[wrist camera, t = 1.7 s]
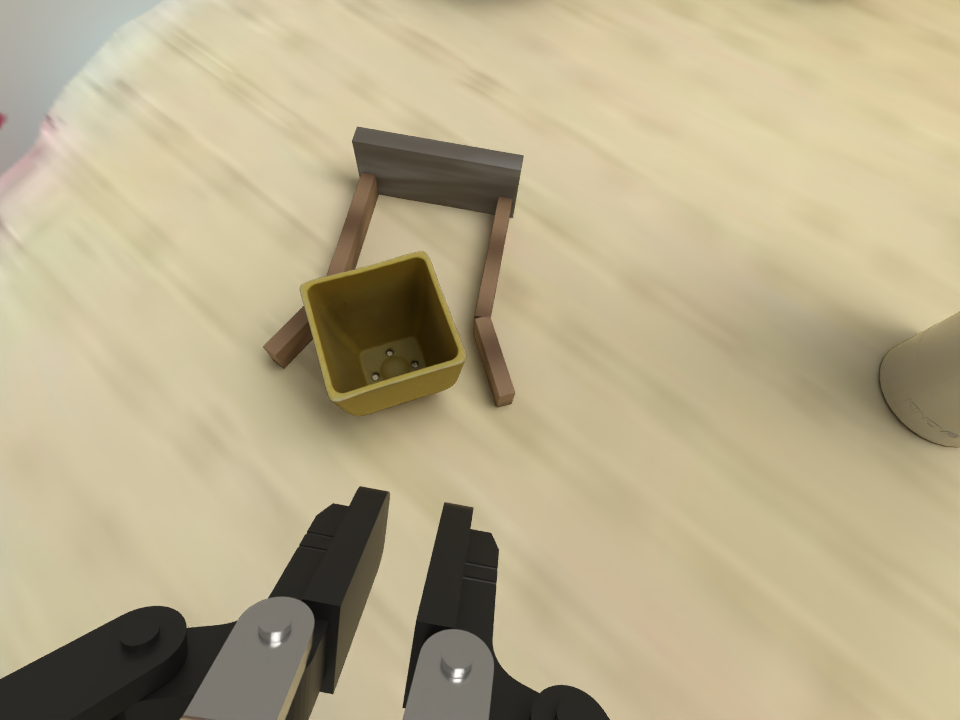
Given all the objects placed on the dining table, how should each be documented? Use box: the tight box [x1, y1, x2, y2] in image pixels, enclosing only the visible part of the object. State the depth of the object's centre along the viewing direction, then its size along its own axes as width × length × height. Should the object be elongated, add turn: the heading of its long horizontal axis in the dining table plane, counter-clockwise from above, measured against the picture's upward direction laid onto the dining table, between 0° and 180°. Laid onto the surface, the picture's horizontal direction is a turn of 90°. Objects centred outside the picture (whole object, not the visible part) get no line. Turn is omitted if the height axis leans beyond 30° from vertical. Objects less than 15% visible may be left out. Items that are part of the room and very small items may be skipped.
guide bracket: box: [263, 127, 523, 407], centre depth 43 cm, size 20×19×6 cm
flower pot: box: [300, 251, 466, 416], centre depth 38 cm, size 9×9×9 cm
